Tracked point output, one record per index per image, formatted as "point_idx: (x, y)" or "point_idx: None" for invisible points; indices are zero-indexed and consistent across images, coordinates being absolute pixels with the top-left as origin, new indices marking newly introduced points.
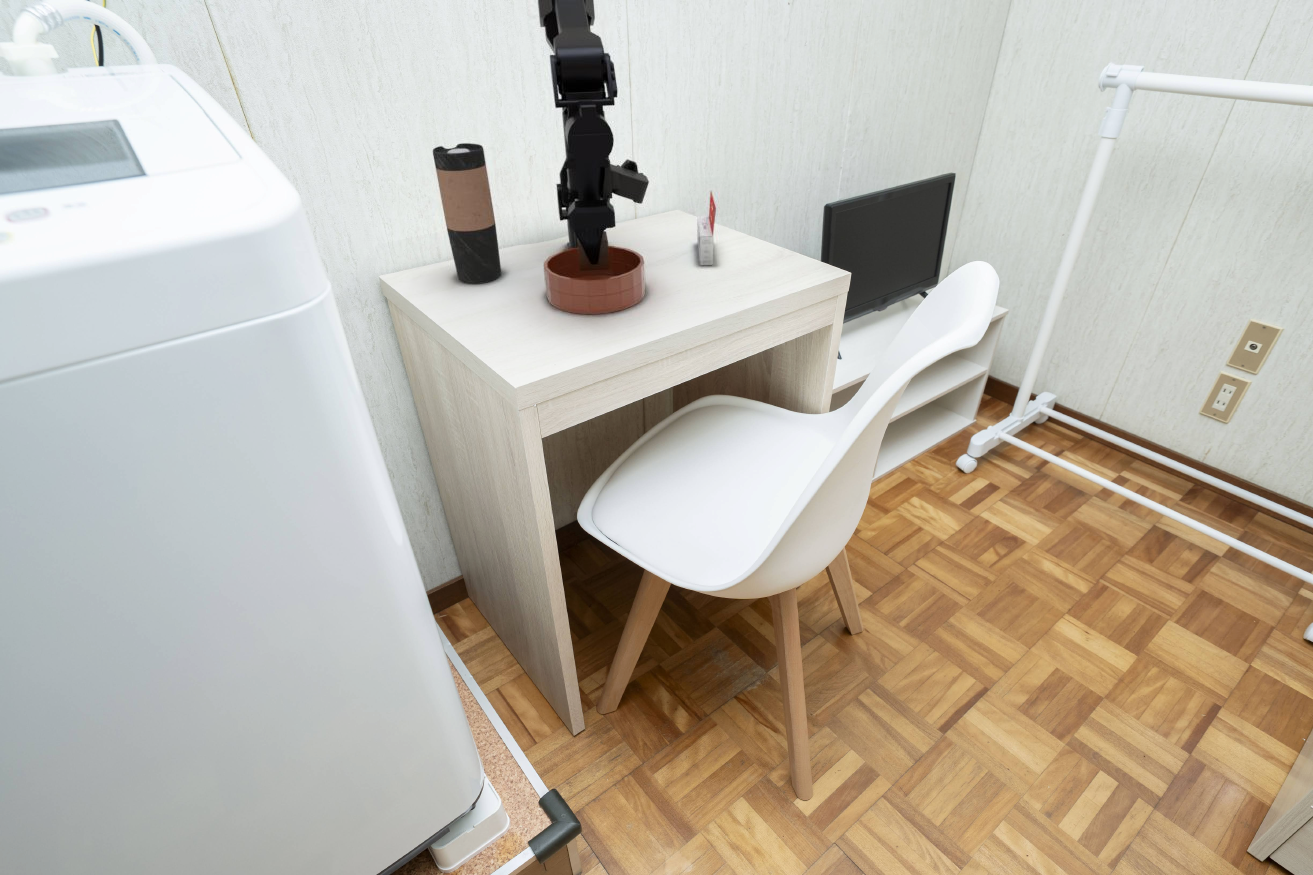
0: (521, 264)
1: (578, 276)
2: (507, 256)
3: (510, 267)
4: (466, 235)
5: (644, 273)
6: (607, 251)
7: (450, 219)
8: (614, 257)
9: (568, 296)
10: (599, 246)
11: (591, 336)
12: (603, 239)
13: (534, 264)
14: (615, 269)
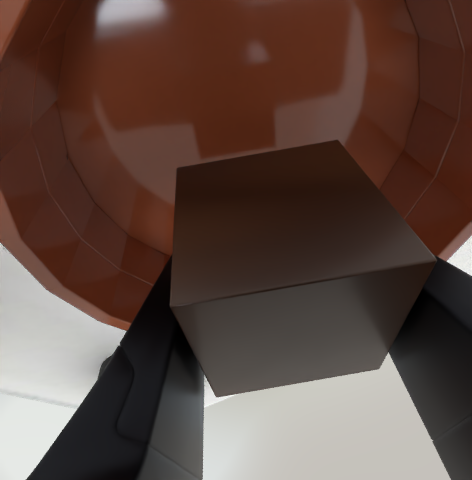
0: (50, 341)
1: (118, 226)
2: (13, 366)
3: (79, 349)
4: None
5: None
6: (385, 205)
7: None
8: (19, 129)
9: None
10: (461, 276)
11: None
12: (398, 288)
13: (37, 324)
14: (46, 100)
